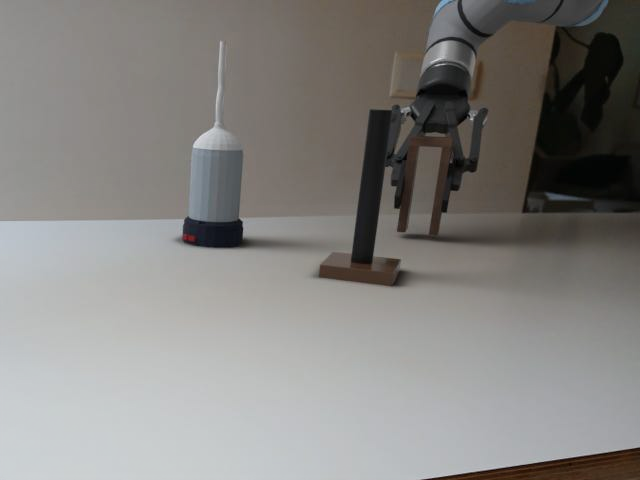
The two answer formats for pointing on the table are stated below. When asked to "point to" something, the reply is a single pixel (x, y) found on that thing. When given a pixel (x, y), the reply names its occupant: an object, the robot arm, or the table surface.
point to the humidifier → (215, 181)
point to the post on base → (367, 214)
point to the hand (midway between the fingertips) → (420, 204)
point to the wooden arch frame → (410, 179)
